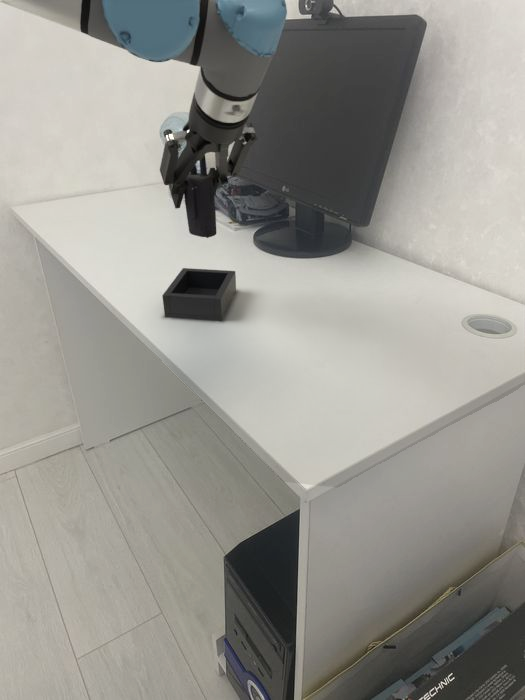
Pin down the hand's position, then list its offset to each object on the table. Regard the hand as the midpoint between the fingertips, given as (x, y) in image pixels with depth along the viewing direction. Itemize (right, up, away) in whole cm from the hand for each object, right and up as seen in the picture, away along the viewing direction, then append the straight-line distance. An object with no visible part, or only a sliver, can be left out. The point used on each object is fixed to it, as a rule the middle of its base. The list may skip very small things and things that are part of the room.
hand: (191, 198), depth 88 cm
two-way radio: (+2, -6, 0) cm, 7 cm away
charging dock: (+1, -17, +9) cm, 19 cm away
